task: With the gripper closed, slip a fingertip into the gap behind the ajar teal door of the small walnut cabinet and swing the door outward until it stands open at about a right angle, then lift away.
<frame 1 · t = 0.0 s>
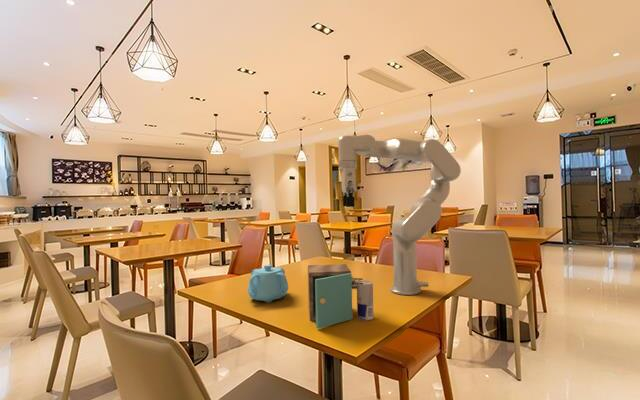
hand: (348, 206, 139), 37 cm above the table, tool pointing down, fingers open, 9 cm apart
decorative pot: (268, 298, 135), on the table
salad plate: (340, 285, 154), on the table
energy drink: (365, 318, 110), on the table
cabinet: (329, 313, 115), on the table
door: (335, 300, 105), point 8 cm above the table, hinge at 30.0°
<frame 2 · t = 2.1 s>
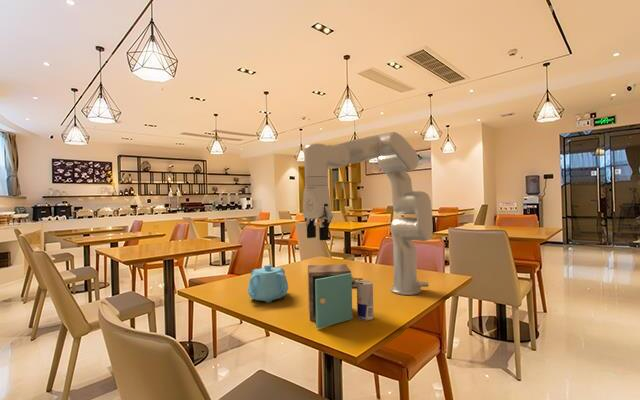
hand: (317, 238, 106), 28 cm above the table, tool pointing down, fingers open, 6 cm apart
nothing on the table moved.
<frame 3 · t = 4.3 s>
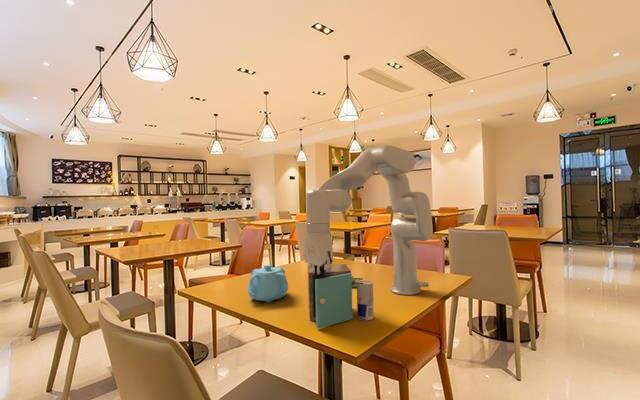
hand: (319, 285, 105), 13 cm above the table, tool pointing down, fingers closed
door: (335, 300, 105), point 8 cm above the table, hinge at 30.1°, touching gripper
everything else where it was.
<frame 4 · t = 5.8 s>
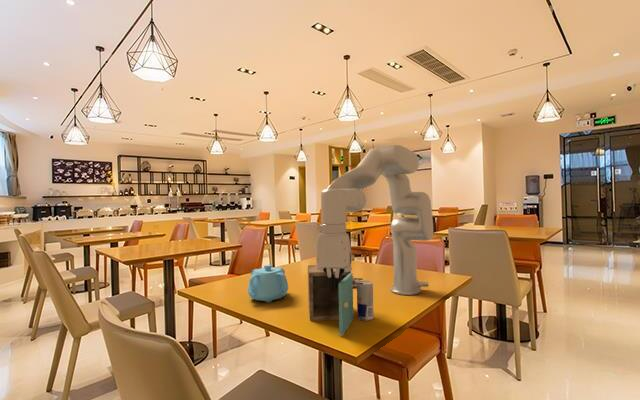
hand: (334, 289, 100), 13 cm above the table, tool pointing down, fingers closed
door: (348, 302, 102), point 8 cm above the table, hinge at 67.3°, touching gripper
everything else where it was.
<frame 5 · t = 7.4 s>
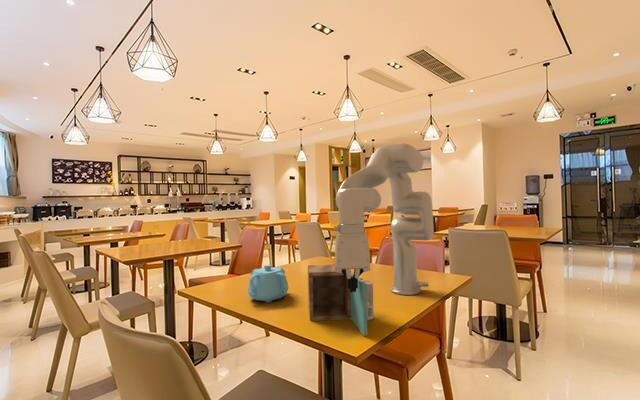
hand: (352, 290, 98), 13 cm above the table, tool pointing down, fingers closed
door: (359, 302, 102), point 8 cm above the table, hinge at 96.6°, touching gripper
everything else where it was.
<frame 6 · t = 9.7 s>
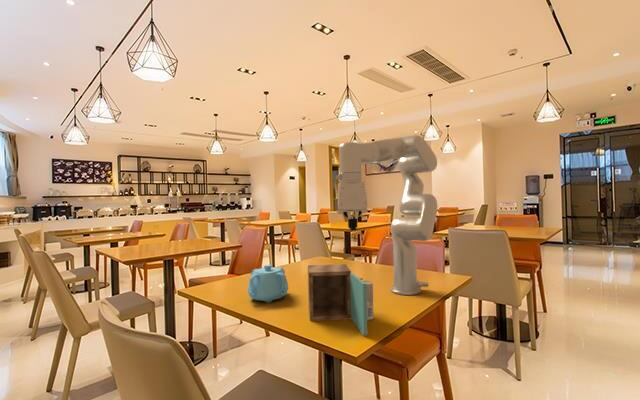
hand: (352, 229, 116), 29 cm above the table, tool pointing down, fingers closed
door: (359, 302, 102), point 8 cm above the table, hinge at 96.7°
everything else where it was.
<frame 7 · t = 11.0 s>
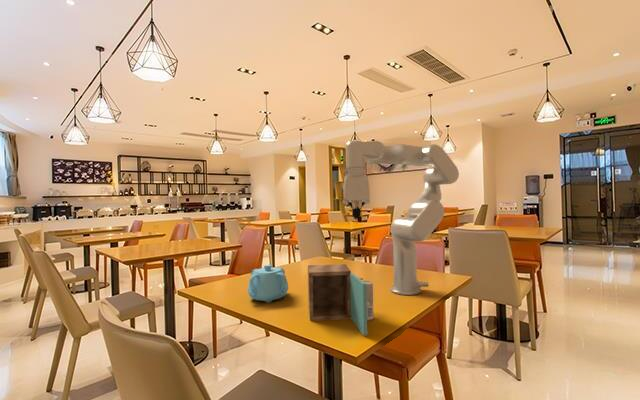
hand: (356, 218, 131), 32 cm above the table, tool pointing down, fingers closed
nothing on the table moved.
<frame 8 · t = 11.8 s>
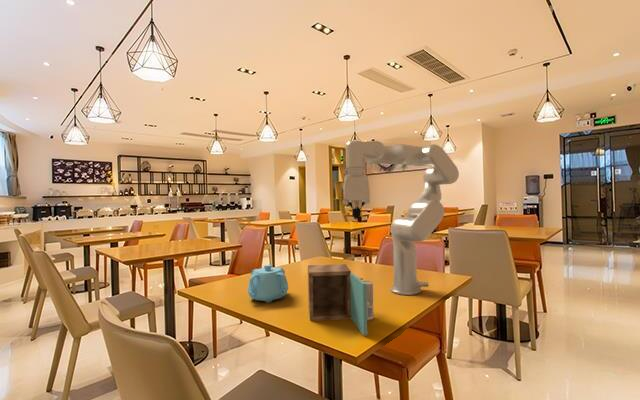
hand: (356, 218, 131), 32 cm above the table, tool pointing down, fingers closed
nothing on the table moved.
at the end: door at +97° (first picture: +30°); energy drink tilted 0° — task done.
